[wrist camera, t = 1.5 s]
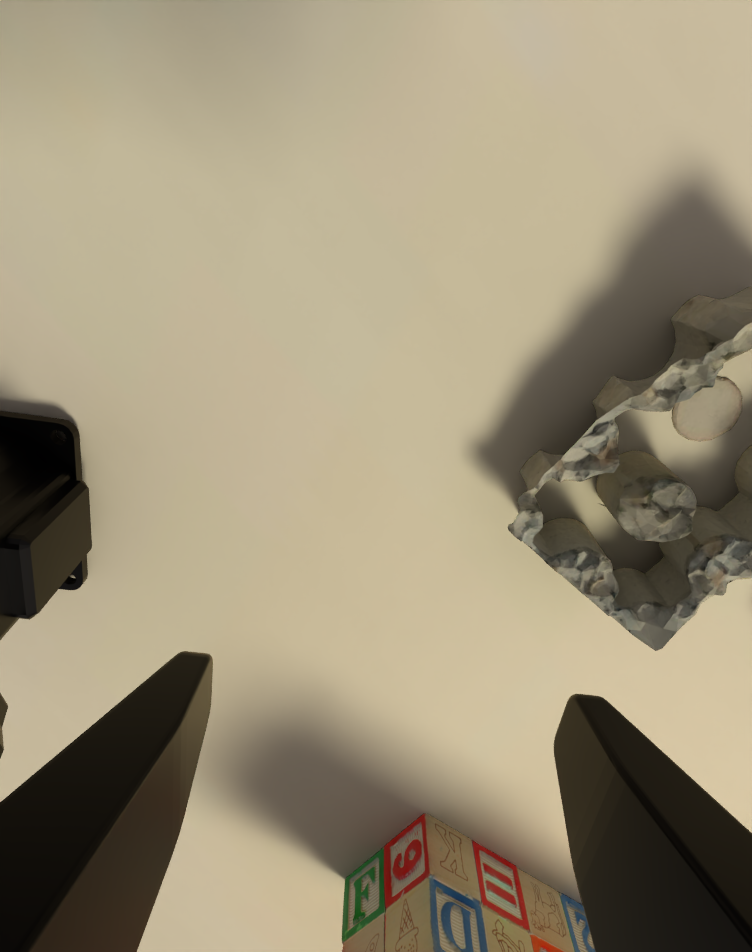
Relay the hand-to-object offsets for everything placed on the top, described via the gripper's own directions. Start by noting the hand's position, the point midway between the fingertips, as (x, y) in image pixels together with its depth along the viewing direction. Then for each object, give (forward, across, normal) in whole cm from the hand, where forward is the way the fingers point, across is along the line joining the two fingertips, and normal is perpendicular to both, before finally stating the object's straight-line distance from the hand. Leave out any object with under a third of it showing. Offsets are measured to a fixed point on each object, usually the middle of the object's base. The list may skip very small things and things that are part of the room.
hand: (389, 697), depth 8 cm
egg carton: (+14, -10, 0) cm, 17 cm away
